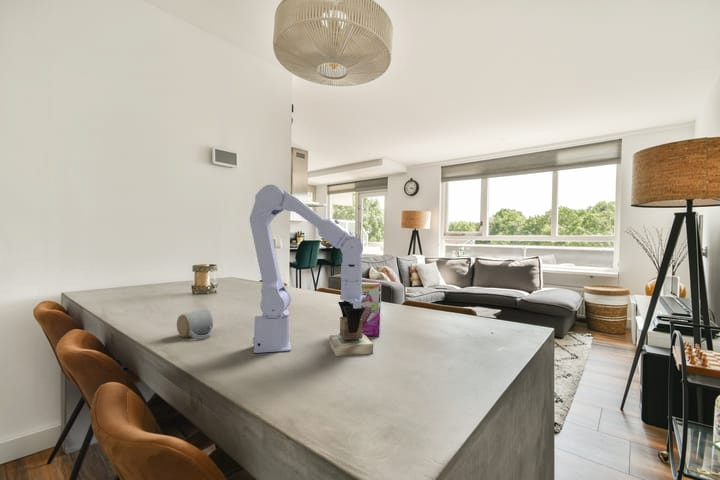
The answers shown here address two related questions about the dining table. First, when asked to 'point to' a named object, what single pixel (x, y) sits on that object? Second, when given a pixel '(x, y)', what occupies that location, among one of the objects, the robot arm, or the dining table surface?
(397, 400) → the dining table surface
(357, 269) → the robot arm
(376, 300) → the candy bar box
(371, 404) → the dining table surface
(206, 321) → the ceramic mug
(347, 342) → the base
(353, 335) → the walnut cube
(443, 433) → the dining table surface
